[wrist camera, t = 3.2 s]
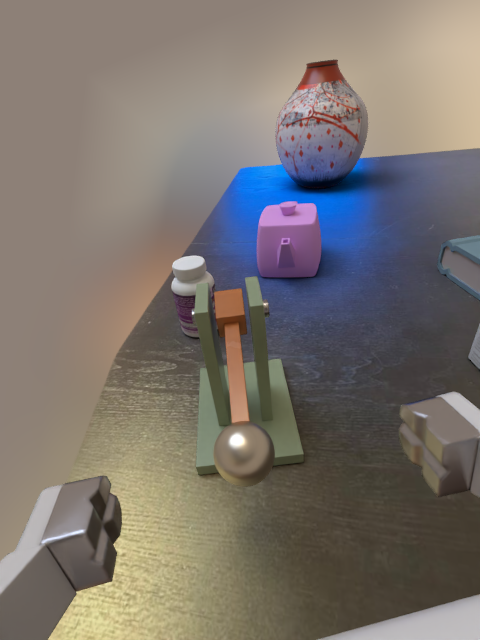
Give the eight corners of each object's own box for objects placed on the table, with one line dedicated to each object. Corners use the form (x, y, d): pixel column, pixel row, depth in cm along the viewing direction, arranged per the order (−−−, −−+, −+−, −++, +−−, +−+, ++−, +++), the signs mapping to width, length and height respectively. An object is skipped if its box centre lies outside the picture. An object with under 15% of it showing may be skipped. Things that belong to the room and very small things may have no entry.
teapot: (320, 290, 51) (322, 223, 46) (250, 290, 54) (244, 226, 48) (320, 241, 66) (322, 186, 60) (265, 243, 68) (262, 189, 62)
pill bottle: (212, 341, 44) (199, 273, 39) (175, 336, 46) (158, 271, 40) (226, 317, 48) (216, 253, 43) (192, 313, 50) (178, 252, 45)
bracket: (303, 462, 29) (303, 333, 21) (198, 475, 29) (159, 351, 22) (281, 366, 39) (275, 253, 31) (202, 376, 39) (176, 266, 31)
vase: (294, 173, 111) (293, 65, 95) (370, 173, 101) (383, 53, 85) (264, 194, 95) (256, 69, 79) (351, 198, 85) (362, 55, 69)
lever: (279, 490, 21) (279, 471, 18) (219, 497, 21) (209, 480, 18) (252, 311, 30) (249, 281, 27) (210, 317, 30) (203, 287, 27)
